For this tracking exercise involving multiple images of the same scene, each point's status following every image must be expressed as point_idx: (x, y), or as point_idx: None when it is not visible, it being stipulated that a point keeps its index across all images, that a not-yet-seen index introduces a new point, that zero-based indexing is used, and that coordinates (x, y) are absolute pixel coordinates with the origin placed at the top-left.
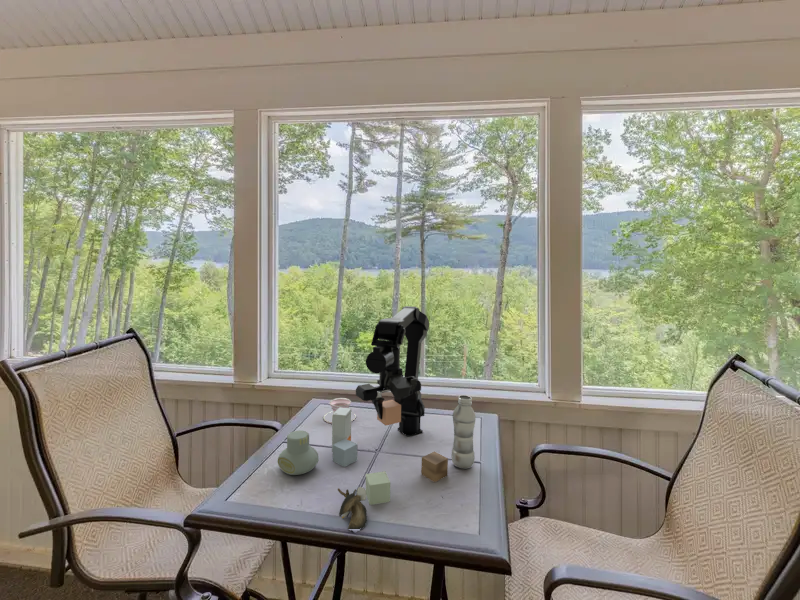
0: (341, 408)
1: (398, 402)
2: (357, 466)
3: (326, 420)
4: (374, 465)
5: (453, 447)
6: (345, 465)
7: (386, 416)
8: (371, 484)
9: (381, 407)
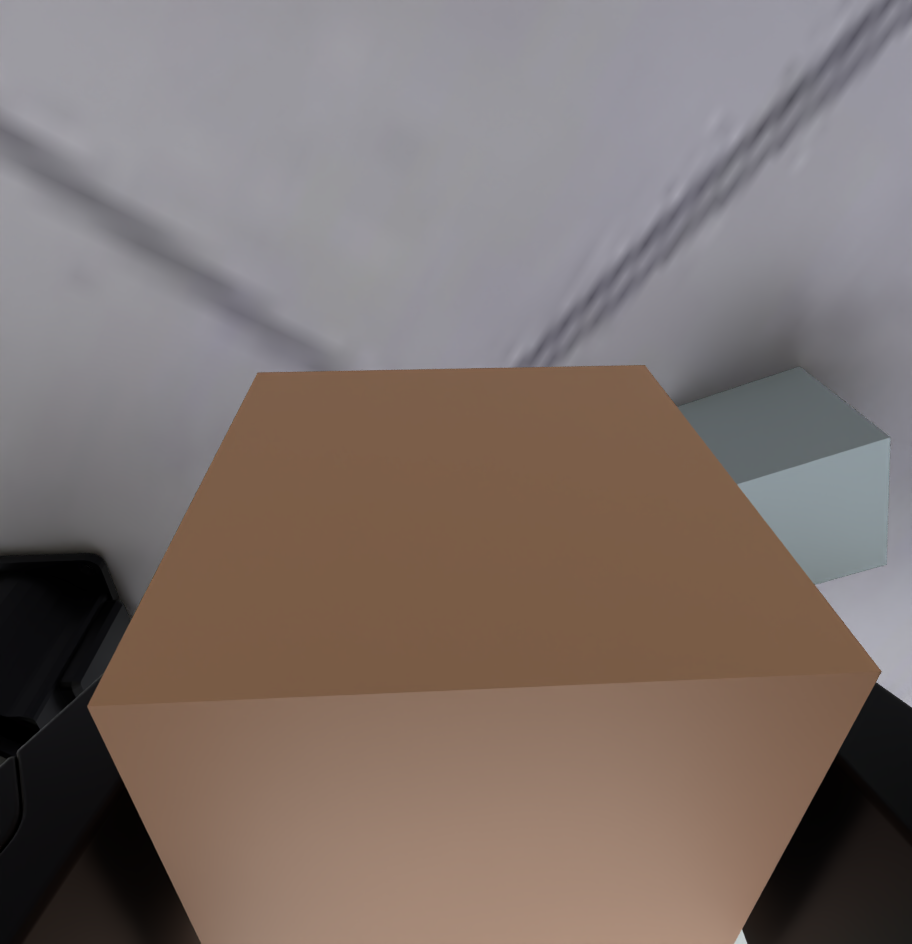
0: (744, 938)
1: (121, 882)
2: (715, 326)
3: None
4: (589, 269)
5: None
6: (794, 373)
7: (698, 474)
8: None
9: (904, 772)
